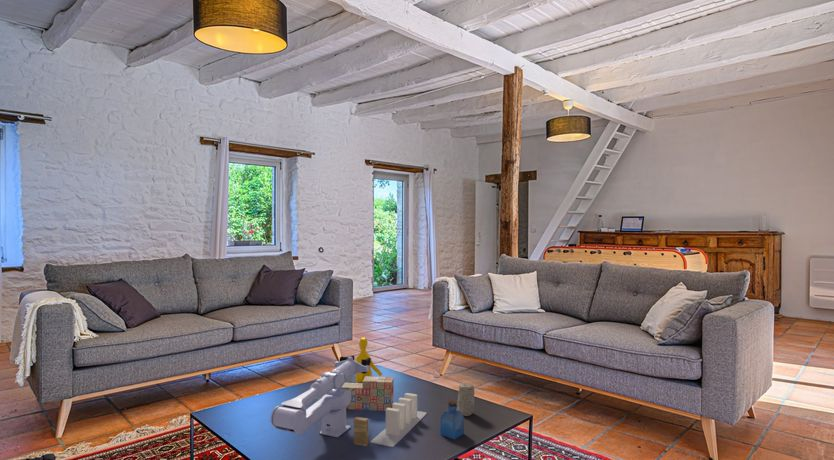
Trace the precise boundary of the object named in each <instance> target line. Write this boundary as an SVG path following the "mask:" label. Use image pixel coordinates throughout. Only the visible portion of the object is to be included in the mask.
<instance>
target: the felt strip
mask: <svg viewBox="0 0 834 460" xmlns="http://www.w3.org/2000/svg"><path fill="white" fill-rule="evenodd" d="M427 414H428V412H426V411H420V410H417V418H416V419H414V418H412V422H411V423H410V424H407V423H406V428H405V429H404V430H402V429H400V434H399V435H398V436H395V435H390V434H386V427H385V428H384V429H383V430H381V432H379V433H378V434H377V435H376V436H375V437H373V439H371V441H369V442H370V443H371V444H375V445H380V446H384V447H389V448H394V447H395V446H396V445H397V444H398V443H399V442H400V441H402V439H403V438H404V437H405V436H406V435H407V434H408V433H409V432H411V431H412V430H413V429H414V427H415V426H416V425H417V424H418V423H419V422H420V421H421V420H422V419H423V418H424V417H425V416H427Z"/></svg>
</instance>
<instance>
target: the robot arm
mask: <svg viewBox="0 0 834 460" xmlns="http://www.w3.org/2000/svg"><path fill="white" fill-rule="evenodd" d="M371 360H372V358H371V357H370V358H367V359H364V360H363V359H361V361H362V363H361V364H360V363H358V362H357V361H356V360H355V355H348V356H340V357H339V360H337V361H334V369H332V370H331V371H324V372H322V373H321V375H320V377H319V378H317V379H316V380H315V381H314V382H313V383H312V384H310V387H309V389H308V390H306V391H304V392H302V393H301V394H299V395H298V396H296V397H293V398H291V399H288V400H284V401H282V403H280V405H277V406H275V407H274V408H273V409H272V411H271V414H270V423H271V425H272V427H274V429H276V430H279V431H280V430H281V431H283V432H289V433H293V434H295V435H296V434H297V435H303V433H304V432H306V431H308V430H309V429H310V428H311V427H312V426H313V425H315V424H316V423H318V421H320V420H321V430H320V432H319V434H320V435H324V436H329V437H334V438H339V437H341V435H343V434H344V433H346V432H348V430H349V429H350V428H351V425H347V409H346V407H347V406H348V405H349V403H350V401H351V393H350V391H349V390H343V389H341V387H342V386H343V384H344V383H345V381H346V380H347V379H349V378H350V377H352V376H353V375H355V374H357V373H363V374H366V373H367V371H368V370H369V365H370V363H371ZM315 399H316V400H317V401H316V402H315V403H313V404H312V405H310V406H309V407H308V408H306V407H307V406H308V405H309V404H310V403H312V402H313V401H314V400H315Z"/></svg>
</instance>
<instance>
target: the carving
mask: <svg viewBox="0 0 834 460" xmlns="http://www.w3.org/2000/svg"><path fill="white" fill-rule="evenodd" d="M456 405H457V410H459V411H460V412H461V413H462V415H463V417H469V416H471V415H473V412H474V409H475V386H474V385H473V384H472V383H470V382H461V383H460V384H459V385H458V395H457V404H456Z"/></svg>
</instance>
